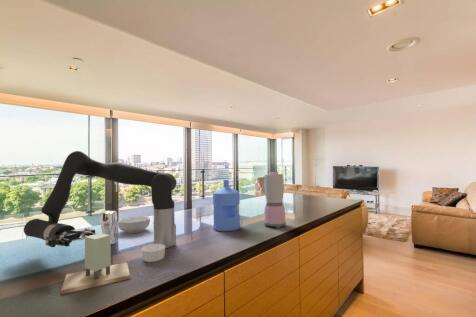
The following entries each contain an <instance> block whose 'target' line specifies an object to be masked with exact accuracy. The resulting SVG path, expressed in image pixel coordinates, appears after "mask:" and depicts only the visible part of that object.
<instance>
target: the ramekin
mask: <svg viewBox="0 0 476 317" xmlns="http://www.w3.org/2000/svg"><path fill="white" fill-rule="evenodd" d="M165 247H166V246H165V245H163V244H154V243H151V244H148V245H145V246H143V247H142V248H141V252H142V259H143V261H144V262H145V263H154V262H157V261H161V260H162V259H164V258H165V254H166V253H165V252H166V248H165Z"/></svg>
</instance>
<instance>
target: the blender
mask: <svg viewBox="0 0 476 317" xmlns="http://www.w3.org/2000/svg"><path fill="white" fill-rule="evenodd" d="M284 186H285V184H284V174H282V173H279V171H269V173H265V174H264V176H263V177H262V178H261V191H262V193H263V194H264V195H265V199H266V200H265V201H266V204H265V207H264V226H265V227H267V226H269V227H275V228H276V229H280V228H281V227H286V223H287V222H286V209H285V208H286V207H285V206H284V203H283V202H284V201H283V199H284V193H285V188H284Z"/></svg>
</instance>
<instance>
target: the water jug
mask: <svg viewBox="0 0 476 317" xmlns="http://www.w3.org/2000/svg"><path fill="white" fill-rule="evenodd" d="M229 180H230V179H223V187H221V188H219V189H217V190H216V191H213V193H212V204H213V206H212V208H213V210H212V212H213V213H212V214H213V216H212V217H213V226H212V227H213V229H214V231H218V232H234V231H237V230H240V228H241V216H240V214H238V206H239V205H240V203H241V201H240V200H241V198H240V197H241V196H240V191H238V190H236V189H234V188H232V187H230V186H229V185H230V183H229Z"/></svg>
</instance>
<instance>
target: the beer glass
mask: <svg viewBox="0 0 476 317" xmlns="http://www.w3.org/2000/svg"><path fill="white" fill-rule="evenodd" d="M100 214H101V215H100V226H101V227H100V228H101V233H103V234H108V235H111V245H114V244H116V242H117V240H116V232H117V226H118V215H117V214H118V213H117V210H105V211H102V212H101V213H100Z"/></svg>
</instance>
